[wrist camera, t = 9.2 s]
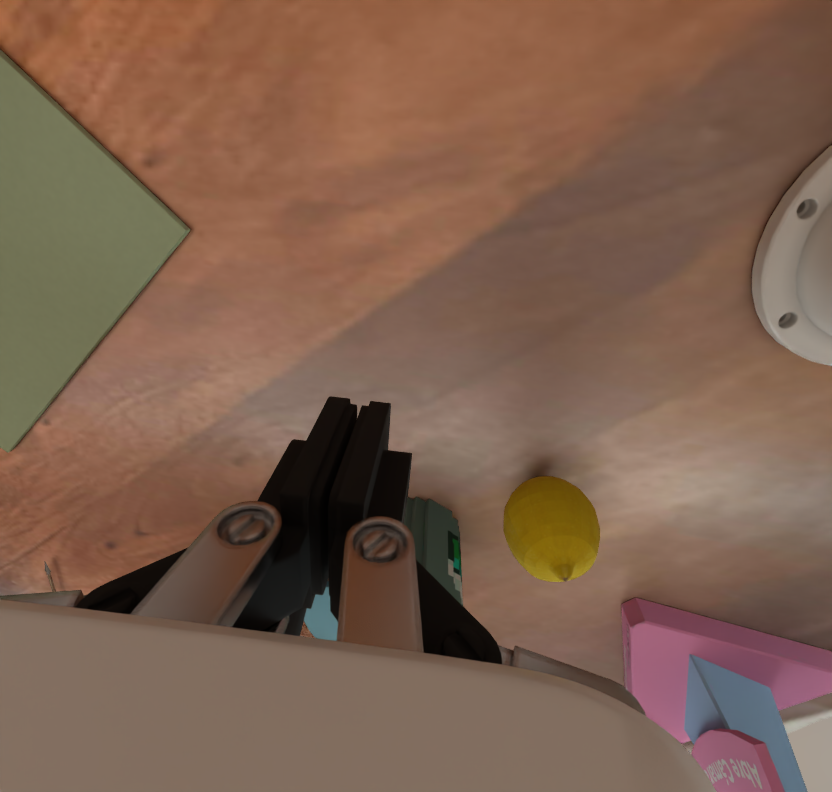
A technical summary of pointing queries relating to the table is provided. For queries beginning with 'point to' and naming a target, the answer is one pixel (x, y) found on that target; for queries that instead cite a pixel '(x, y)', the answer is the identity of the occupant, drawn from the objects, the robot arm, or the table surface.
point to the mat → (63, 247)
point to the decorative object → (321, 617)
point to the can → (436, 542)
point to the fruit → (552, 529)
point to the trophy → (722, 691)
